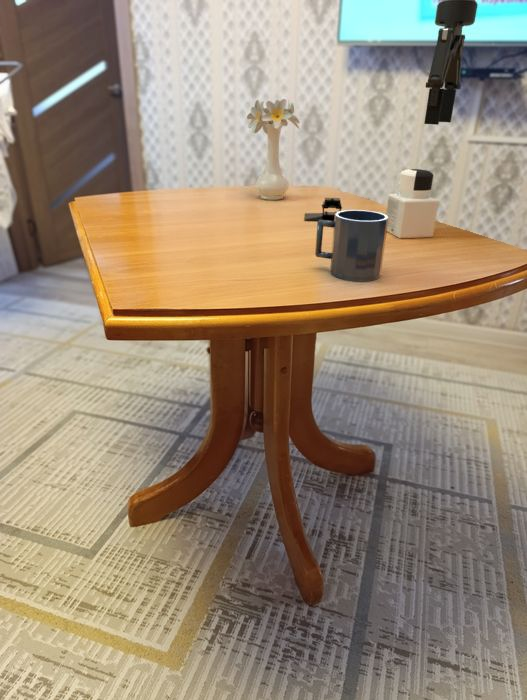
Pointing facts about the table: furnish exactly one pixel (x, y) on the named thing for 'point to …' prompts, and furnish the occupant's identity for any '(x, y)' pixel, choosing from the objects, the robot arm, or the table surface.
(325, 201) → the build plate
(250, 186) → the table surface
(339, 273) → the mug
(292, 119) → the flower vase
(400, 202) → the container
